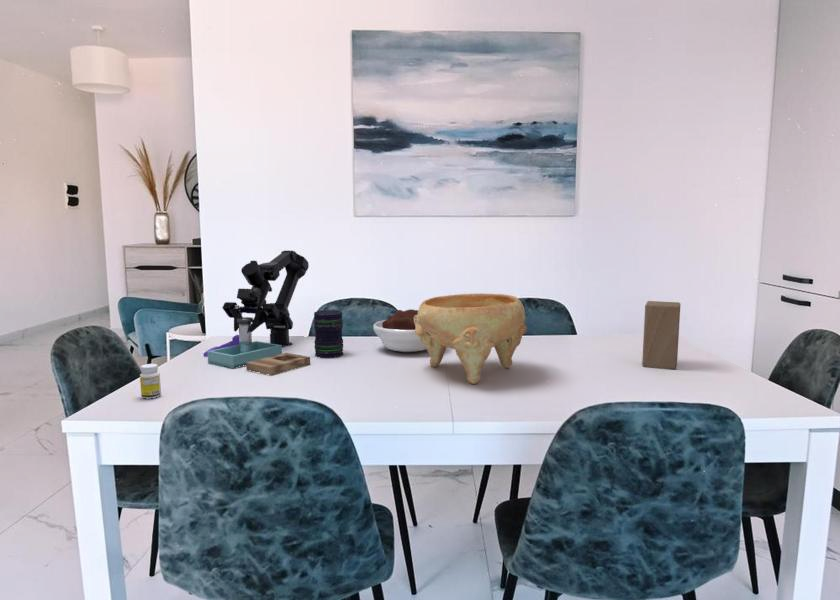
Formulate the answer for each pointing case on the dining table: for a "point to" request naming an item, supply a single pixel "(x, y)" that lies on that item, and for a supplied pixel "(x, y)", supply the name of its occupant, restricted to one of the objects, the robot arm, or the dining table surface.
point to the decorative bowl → (471, 328)
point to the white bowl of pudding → (399, 332)
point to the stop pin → (245, 334)
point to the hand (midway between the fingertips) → (242, 331)
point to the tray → (235, 359)
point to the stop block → (278, 363)
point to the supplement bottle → (150, 381)
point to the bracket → (225, 345)
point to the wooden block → (661, 334)
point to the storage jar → (328, 334)
